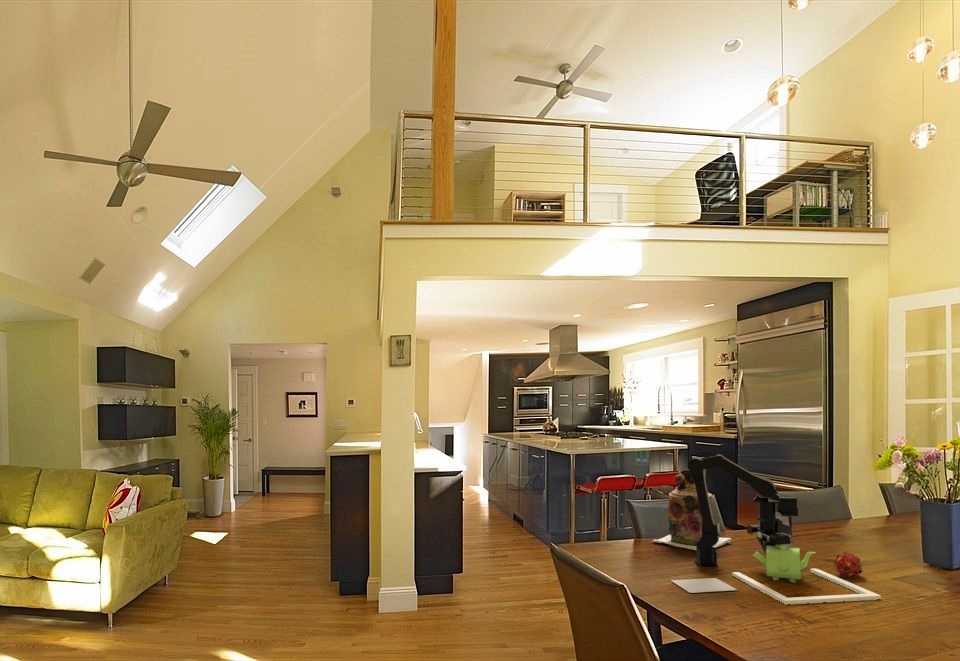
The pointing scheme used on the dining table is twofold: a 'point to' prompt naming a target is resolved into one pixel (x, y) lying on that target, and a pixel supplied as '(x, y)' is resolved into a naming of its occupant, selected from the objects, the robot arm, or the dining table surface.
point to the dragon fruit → (848, 565)
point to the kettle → (783, 562)
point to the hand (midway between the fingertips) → (769, 558)
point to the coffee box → (787, 521)
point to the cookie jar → (685, 515)
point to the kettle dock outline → (814, 599)
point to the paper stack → (703, 585)
